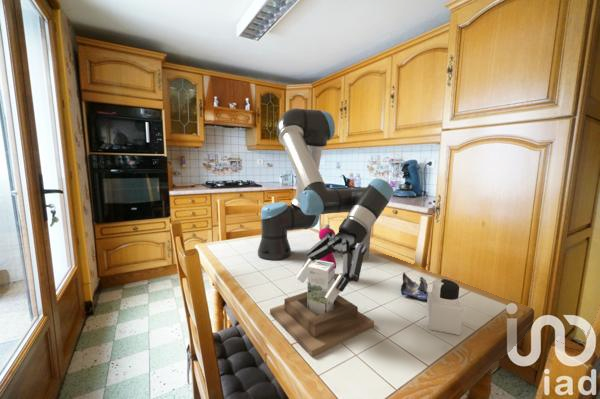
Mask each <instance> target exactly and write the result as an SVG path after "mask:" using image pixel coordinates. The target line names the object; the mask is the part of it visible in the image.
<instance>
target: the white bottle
mask: <svg viewBox="0 0 600 399" xmlns="http://www.w3.org/2000/svg"><path fill="white" fill-rule="evenodd" d="M427 294H428V298H427V301H426V312H425V313H426V319H427V320H426V321H427V325H428V329H429V330H431V331H435V332H441V333H447V334H451V335H457V336H460V335H461V333H462V323H463V321H462V320H463V312H464V309H463V306H462V304H461V302H460V300H459V296H460V286H459V284H458V283H457V282H455V281H452V280H450V279H446V278H437V279H434V280H433V281H432V290H431V291H427Z"/></svg>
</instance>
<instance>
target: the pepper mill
mask: <svg viewBox="0 0 600 399" xmlns="http://www.w3.org/2000/svg"><path fill="white" fill-rule="evenodd" d="M328 232H332V234H334V235H336V233H335V230H333V229H332V228H330V224H328V223H327V224H325V225H324V227H323V228H321V229H320V231H318V239H319V241H320V240H322V239H323V238H324V237H325V236H326V235H327V233H328ZM332 246H333V245H332ZM320 261H326V262H331V263H334V264H335V270H336V268H337V262H336V259H335V257H334V254H333V253H330V254H329V255H327V256H325V257H323V258H321V259H320ZM335 274H336V272H334V278H335Z"/></svg>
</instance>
